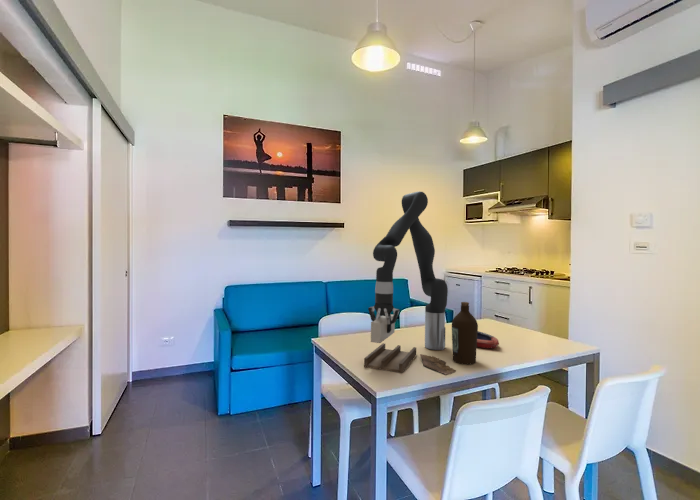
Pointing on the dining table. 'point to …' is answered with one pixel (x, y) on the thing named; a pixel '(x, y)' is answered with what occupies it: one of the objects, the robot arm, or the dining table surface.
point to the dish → (486, 340)
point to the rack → (389, 359)
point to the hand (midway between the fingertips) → (383, 331)
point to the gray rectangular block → (381, 329)
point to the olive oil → (464, 336)
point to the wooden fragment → (436, 364)
